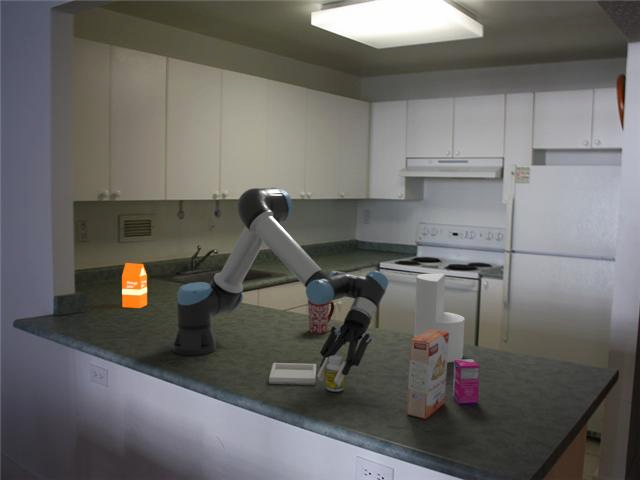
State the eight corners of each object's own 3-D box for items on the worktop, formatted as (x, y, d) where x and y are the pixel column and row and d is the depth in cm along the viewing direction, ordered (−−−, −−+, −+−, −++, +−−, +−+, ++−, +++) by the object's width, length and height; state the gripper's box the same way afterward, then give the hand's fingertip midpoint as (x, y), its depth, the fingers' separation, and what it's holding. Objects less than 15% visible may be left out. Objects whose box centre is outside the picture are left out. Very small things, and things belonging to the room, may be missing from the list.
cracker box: (427, 420, 158) (430, 342, 156) (406, 415, 162) (408, 338, 159) (446, 404, 170) (450, 331, 168) (426, 399, 173) (429, 327, 171)
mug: (316, 335, 238) (317, 302, 237) (302, 330, 245) (302, 298, 244) (340, 331, 246) (341, 298, 245) (326, 326, 253) (327, 294, 252)
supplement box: (451, 397, 175) (453, 359, 174) (471, 397, 176) (473, 358, 174) (458, 405, 169) (460, 365, 168) (478, 404, 170) (480, 365, 169)
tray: (268, 383, 183) (269, 377, 183) (273, 368, 197) (273, 362, 197) (315, 384, 183) (315, 378, 183) (316, 369, 197) (316, 363, 197)
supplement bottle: (346, 387, 181) (347, 355, 180) (340, 393, 176) (341, 361, 175) (329, 384, 183) (330, 353, 181) (323, 390, 178) (324, 358, 176)
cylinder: (408, 358, 211) (412, 279, 208) (418, 345, 227) (421, 272, 224) (459, 365, 205) (463, 283, 202) (465, 351, 221) (469, 275, 218)
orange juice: (129, 303, 288) (129, 261, 286) (147, 304, 287) (146, 262, 285) (122, 307, 281) (121, 264, 278) (140, 308, 279) (139, 265, 277)
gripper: (390, 327, 184) (359, 394, 173) (340, 317, 195) (308, 380, 184) (382, 313, 179) (349, 381, 168) (331, 304, 190) (297, 367, 179)
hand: (328, 381), depth 176 cm, fingers closed on supplement bottle, 5 cm apart
